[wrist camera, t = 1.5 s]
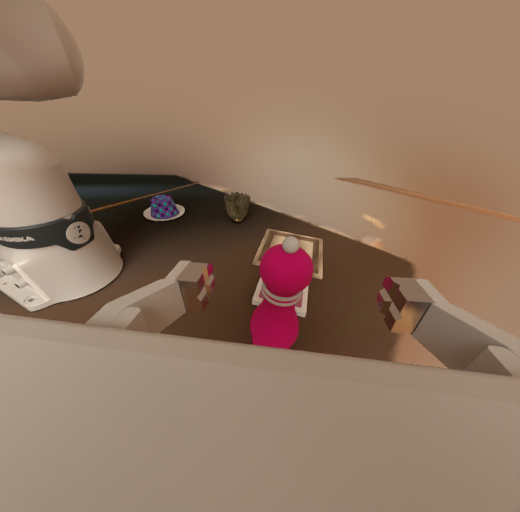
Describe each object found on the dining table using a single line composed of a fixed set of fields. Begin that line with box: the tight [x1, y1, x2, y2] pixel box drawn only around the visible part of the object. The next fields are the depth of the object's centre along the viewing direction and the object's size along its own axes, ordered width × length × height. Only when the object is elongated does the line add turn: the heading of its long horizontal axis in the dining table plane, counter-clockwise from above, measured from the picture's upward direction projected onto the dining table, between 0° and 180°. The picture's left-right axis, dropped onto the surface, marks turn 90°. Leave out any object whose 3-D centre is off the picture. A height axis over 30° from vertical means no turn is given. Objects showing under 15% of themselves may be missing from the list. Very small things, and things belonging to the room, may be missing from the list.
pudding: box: [144, 195, 185, 221], centre depth 61 cm, size 12×12×5 cm
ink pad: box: [252, 277, 308, 317], centre depth 40 cm, size 10×10×2 cm
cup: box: [224, 192, 250, 223], centre depth 59 cm, size 8×7×8 cm
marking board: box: [253, 229, 323, 280], centre depth 51 cm, size 16×16×1 cm
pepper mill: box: [250, 236, 314, 349], centre depth 26 cm, size 7×7×20 cm
